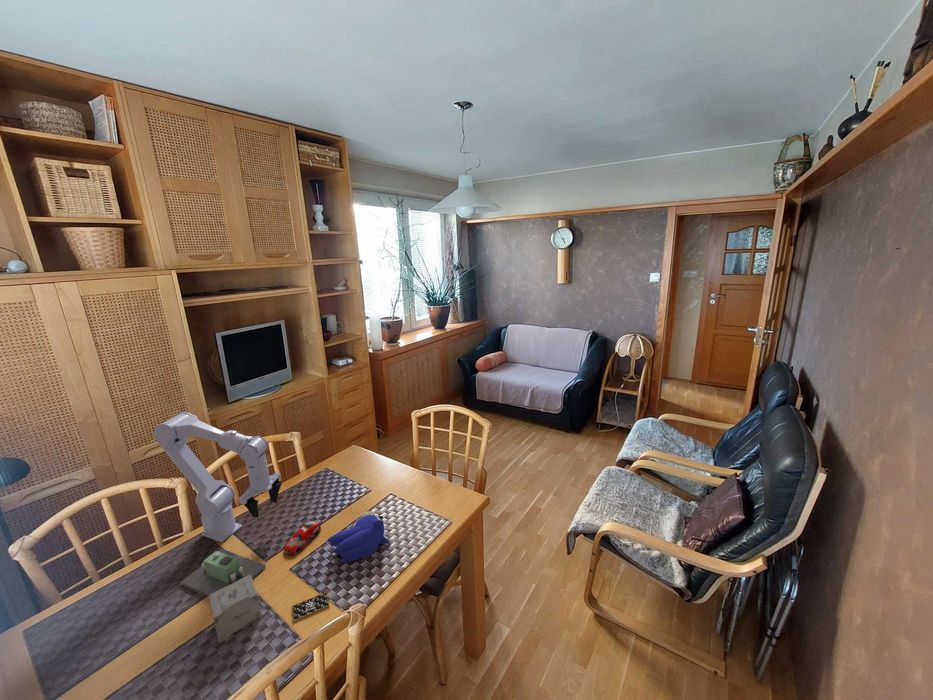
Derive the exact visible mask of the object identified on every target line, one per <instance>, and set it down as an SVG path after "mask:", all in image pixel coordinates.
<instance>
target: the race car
mask: <svg viewBox="0 0 933 700" xmlns="http://www.w3.org/2000/svg"><path fill="white" fill-rule="evenodd" d="M321 530H322V527H321V524H320V522H317V521H315V520H311V521H309V522H306V523H305V524H304V525H303V526H301V527H300V528H299V529H298V530H297V531H296V532H295V533H294V534H292V535H291V536H292V537H291V538H290V539H288V541H286V543H284V546H283V548H284V553H285V554H286V555H290V556H291V555H296V554H298V553H299V552H301V550H302V549H303V548H305V546H307V545H308V544H309V542H311V541H312V540H314V538H315V537H317V536H318V534H319V533H320V532H321Z"/></svg>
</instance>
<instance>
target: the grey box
mask: <svg viewBox="0 0 933 700" xmlns="http://www.w3.org/2000/svg"><path fill="white" fill-rule="evenodd" d="M259 598H260V597H259V595H258V592H257V589H256V586H255V584H254V580H253V579H252V577H251V575H248V576H246V577H244V578H242V579H240V580H238V581H236V582H234V583H232V584H230V585H228V586H227V587H224V588H222V589H220V590H218V591H216V592H214V593H212V594H210V595H209V597H208V603H209V606H210V610H211V611H210V612H211V614H212V620H213V623H214V626H215V629H216V634H217V640H218V644H221V643H224V641H227V639H229V638H230V637H231V635H233V634H234V633H236V632H237V631H239V630H241V629H242V628H244V627H245V626H247V625H248V624H250V623H252V622H256V621H257V620H259V619H260V618H261V617H262V616H263V614H262V611H261V607H260V602H259V601H260V600H259Z"/></svg>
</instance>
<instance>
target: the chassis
mask: <svg viewBox="0 0 933 700" xmlns="http://www.w3.org/2000/svg"><path fill="white" fill-rule="evenodd" d="M219 552H221V553H224V554H227V555H230V556H232V557H235V558H238V560H239V565H240V566H239V567H238V572H239V575H238V576H236V575H235V572H233V573H231V574H230V577H231V582H230V583H227V582H224V581H222V580H219V579H217V578H214V577H212V576H209V575H207V574H206V570H205V566H204V561H202V562H201V565H200V566H199V567H198V568H197V569H195V570H194V571H192V573H190V574H189V575H188V576H187V577H185V578H184V579H183V580H181V581H180V585H181V586H182V587H184V588H186V589H188V590H192V591H194V592H196V593H199V594H200V595H202V596H205V597H208V598H209V595H210V594H212V593H214V592H216V591H218V590H220V589H222V588H224V587H227V586H228V585H230V584H232V583H234V582H236V581H238V580H240V579H242V578H244V577H246V576H248V575H251V577H252V580H253V579H255V578H256V577H257V576H258V575H259V574H260V573H261V572H262V571H263V570H265V568H266V564H265V563H263V562H259V561H257V560H254V559H251V558H248V557H246V556H242V555H241V554H237V553H234V552H232V551H229V550H226V549H221V550H220V551H219Z"/></svg>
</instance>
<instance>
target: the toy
mask: <svg viewBox="0 0 933 700" xmlns="http://www.w3.org/2000/svg"><path fill="white" fill-rule="evenodd" d="M383 518H384V516H382V515H379V516H378V515H375V513H374V512H372V511H365V512H364V513H361V515H360V518H358V520H357V521H356V522H355V524H354V526H353V527H350V528H347V529H344V530H342V531H339V532H337V533H335V534H333V535H331V536H330V537H328V538H327V540H326V541H327V543H329V544H331V545H332V547H335V548H334V549H332V552H333V554H336V555H340V557H342V559H341V562H343V563H349V562H354V561H358V560H361V559H364V558H367V557H368V556H370V555H372V554H373V553H374V552H375V551H376V550H377V549H378V548H379V544H381V545H382V544H384V545H386V544H391V542H390V540H388V538H387V537H386V536H384V535H385V524H384V522H385V520H383Z"/></svg>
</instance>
